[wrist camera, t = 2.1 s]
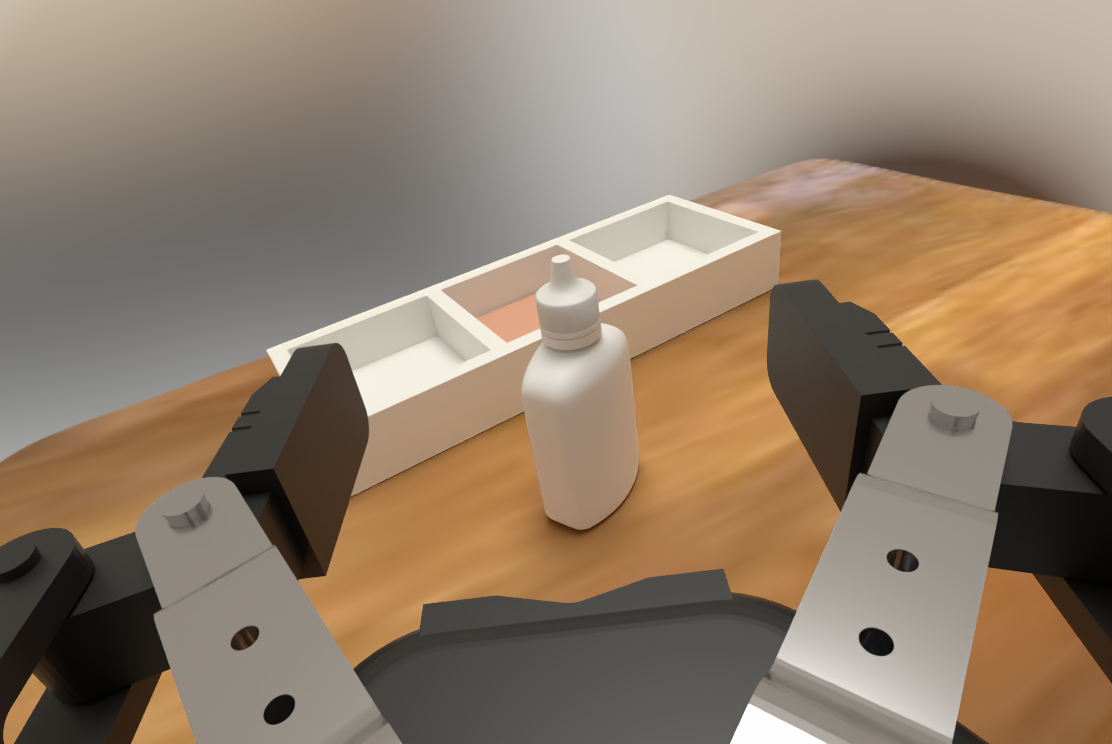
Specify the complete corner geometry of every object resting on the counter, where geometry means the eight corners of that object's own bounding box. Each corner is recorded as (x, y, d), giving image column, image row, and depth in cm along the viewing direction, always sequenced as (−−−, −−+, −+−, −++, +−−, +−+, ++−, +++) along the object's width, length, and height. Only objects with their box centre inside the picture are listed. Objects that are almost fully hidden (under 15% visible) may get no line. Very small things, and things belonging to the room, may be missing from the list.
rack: (671, 242, 53) (669, 194, 51) (778, 286, 45) (781, 230, 42) (290, 403, 41) (266, 349, 39) (341, 501, 33) (314, 440, 31)
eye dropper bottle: (522, 486, 32) (470, 262, 25) (620, 441, 34) (596, 221, 27) (563, 545, 29) (516, 304, 22) (670, 491, 30) (656, 254, 24)
